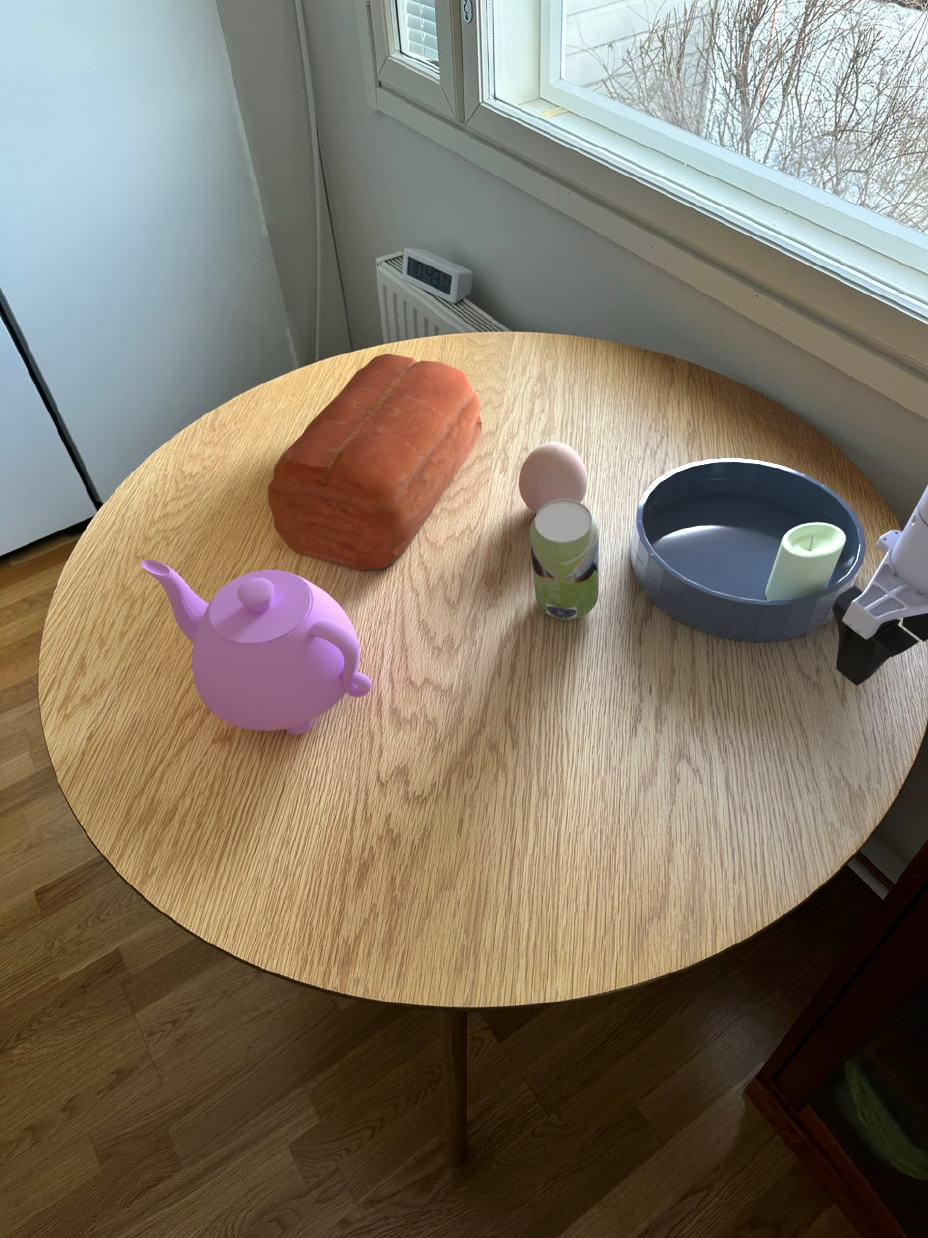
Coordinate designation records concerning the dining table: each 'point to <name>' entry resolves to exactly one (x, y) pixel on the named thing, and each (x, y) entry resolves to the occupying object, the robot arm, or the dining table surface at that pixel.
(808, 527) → the candle
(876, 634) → the robot arm
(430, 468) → the bread
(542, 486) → the egg
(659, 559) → the bowl
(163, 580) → the teapot
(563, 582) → the beverage can
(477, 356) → the dining table surface
